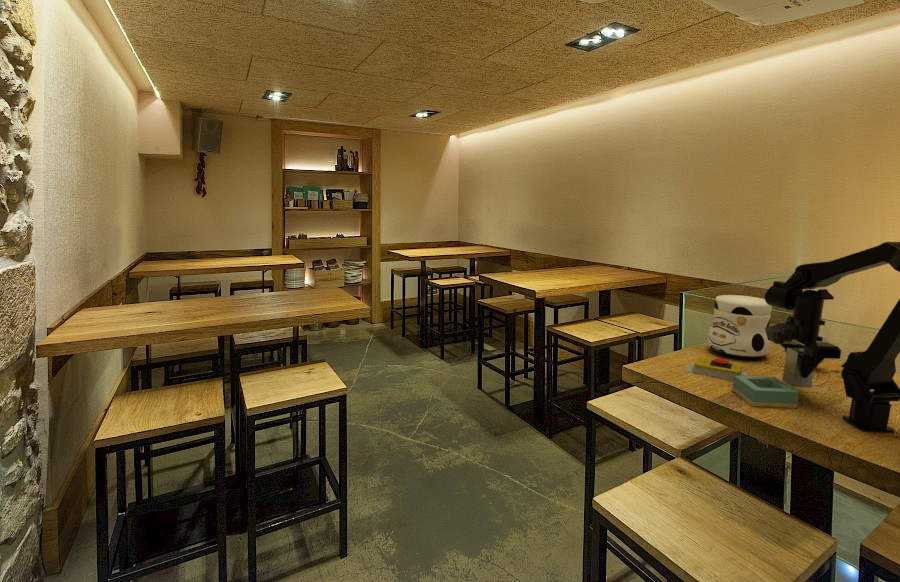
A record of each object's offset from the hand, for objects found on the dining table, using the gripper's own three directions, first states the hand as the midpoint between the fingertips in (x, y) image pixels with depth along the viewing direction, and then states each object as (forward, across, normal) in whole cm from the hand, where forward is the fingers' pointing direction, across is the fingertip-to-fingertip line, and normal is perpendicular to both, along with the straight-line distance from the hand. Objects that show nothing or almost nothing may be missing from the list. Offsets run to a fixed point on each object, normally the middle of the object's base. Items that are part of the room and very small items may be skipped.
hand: (798, 374), depth 122 cm
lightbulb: (+6, -21, +17) cm, 28 cm away
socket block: (+5, +4, -10) cm, 12 cm away
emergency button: (+6, -14, -13) cm, 20 cm away
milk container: (+6, -34, +2) cm, 34 cm away
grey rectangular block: (+3, 0, 0) cm, 3 cm away
